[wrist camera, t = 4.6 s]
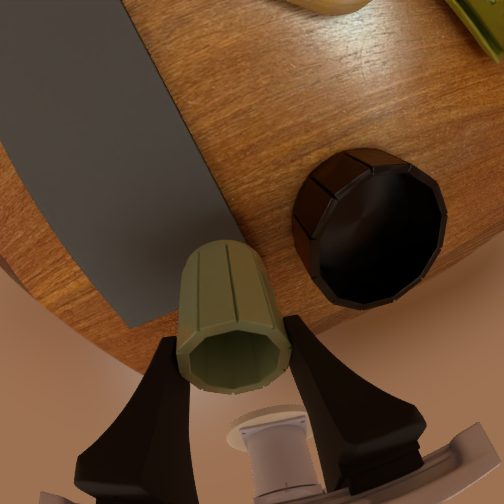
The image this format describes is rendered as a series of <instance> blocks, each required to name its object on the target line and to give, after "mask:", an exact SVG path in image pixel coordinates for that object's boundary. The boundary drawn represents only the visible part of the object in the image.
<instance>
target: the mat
mask: <svg viewBox="0 0 504 504" xmlns="http://www.w3.org/2000/svg"><path fill="white" fill-rule="evenodd" d="M0 141H1V143H2V145H3V147H4V149H5V151H6V152H7V154H8V156H9V158H10V160H11V162H12V164H13V166H14V168H15V169H16V171H17V173H18V175H19V177H20V178H21V180H22V182H23V184H24V185H25V187H26V189H27V190H28V192H29V194H30V195H31V197H32V199H33V200H34V202H35V204H36V205H37V207H38V208H39V210H40V211H41V213H42V215H43V216H44V218H45V219H46V221H47V222H48V224H49V225H50V227H51V228H52V230H53V231H54V233H55V234H56V236H57V237H58V238H59V240H60V241H61V243H62V244H63V245H64V247H65V248H66V250H67V251H68V252H69V254H70V255H71V257H72V258H73V259H74V261H75V262H76V263H77V265H78V266H79V267H80V269H81V270H82V271H83V272H84V274H85V275H86V276H87V278H88V279H89V280H90V281H91V283H92V284H93V285H94V286H95V288H96V289H97V290H98V291H99V292H100V294H101V295H102V296H103V297H104V299H105V300H106V301H107V302H108V303H109V304H110V306H111V307H112V308H113V309H114V310H115V311H116V313H117V314H118V315H119V316H120V317H121V318H122V319H123V321H124V322H125V323H126V324H127V325H128V326H129V327H130V328H131V329H132V328H134V327H137V326H139V325H142V324H144V323H146V322H149V321H151V320H153V319H156V318H158V317H161V316H163V315H165V314H168V313H170V312H172V311H175V310H177V309H179V300H180V288H181V277H182V272H183V269H184V266H185V263H186V261H187V260H188V258H189V256H190V255H191V254H192V253H193V252H194V251H195V250H196V249H198V248H199V247H201V246H203V245H205V244H207V243H209V242H212V241H217V240H234V241H238V242H241V243H244V244H246V245H248V243H247V241H246V239H245V237H244V235H243V233H242V231H241V229H240V227H239V226H238V224H237V222H236V220H235V218H234V216H233V214H232V212H231V210H230V208H229V206H228V204H227V202H226V201H225V199H224V197H223V195H222V193H221V191H220V189H219V187H218V185H217V183H216V181H215V179H214V178H213V176H212V174H211V172H210V170H209V168H208V166H207V164H206V162H205V160H204V158H203V156H202V154H201V153H200V151H199V149H198V147H197V145H196V143H195V141H194V139H193V137H192V135H191V133H190V131H189V129H188V128H187V126H186V124H185V122H184V120H183V118H182V116H181V114H180V112H179V110H178V108H177V106H176V105H175V103H174V101H173V99H172V97H171V95H170V93H169V91H168V89H167V87H166V85H165V83H164V81H163V80H162V78H161V76H160V74H159V72H158V70H157V68H156V66H155V64H154V62H153V60H152V58H151V57H150V55H149V53H148V51H147V49H146V47H145V45H144V43H143V41H142V39H141V37H140V35H139V33H138V32H137V30H136V28H135V26H134V24H133V22H132V20H131V18H130V16H129V14H128V12H127V10H126V9H125V7H124V5H123V3H122V1H121V0H0ZM248 246H249V245H248Z"/></svg>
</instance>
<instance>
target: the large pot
mask: <svg viewBox="0 0 504 504" xmlns="http://www.w3.org/2000/svg"><path fill="white" fill-rule="evenodd" d="M447 213H448V212H447V209H446V206H445V203H444V200H443V197H442V194H441V191H440V188H439V185H438V183H436V181H435V180H434V179H433V178H431V177H430V176H428V175H427V174H426V173H424V172H423V171H421V170H420V169H418V168H417V167H415V166H414V165H412V164H411V163H408V162H406V161H404V160H402V159H400V158H397V157H395V156H393V155H391V154H388V153H386V152H384V151H381V150H377V149H353V150H348V151H345V152H341V153H339V154H337V155H335V156H332V157H331V158H329V159H328V160H326V161H324V162H323V163H322V164H321V165H319V166H318V167H317V168H316V169H315V170H314V171H313V172H312V173H311V174H310V175H309V177H308V178H307V180H306V181H305V182H304V184H303V186H302V187H301V189H300V191H299V193H298V196H297V198H296V201H295V204H294V208H293V214H292V232H293V238H294V242H295V248H296V251H297V252H298V254H299V256H300V258H301V260H302V262H303V264H304V266H305V267H306V269H307V271H308V273H309V275H310V277H311V279H312V281H313V282H314V283H315V284H316V285H317V287H318V288H319V289H320V290H321V292H322V293H323V294H324V295H325V296H326V298H327V299H328V300H329V301H330V302H331V303H333V304H334V305H338V306H343V307H347V308H351V309H356V310H360V311H361V310H362V309H363V310H367V309H371V308H375V307H378V306H382V305H385V304H389V303H392V302H393V301H394V300H397V299H399V298H400V297H401V296H402V295H404V294H405V293H407V292H408V291H409V290H410V289H412V288H413V287H414V286H415V285H417V284H418V283H419V282H420V281H421V278H424V277H425V275H426V274H427V272H428V271H429V269H430V268H431V266H432V264H433V263H434V261H435V259H436V258H437V256H438V255H439V253H440V251H441V249H440V248H442V246H443V241H444V235H445V229H446V223H447V217H448V216H447V215H446V214H447Z"/></svg>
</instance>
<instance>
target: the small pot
mask: <svg viewBox="0 0 504 504" xmlns="http://www.w3.org/2000/svg"><path fill="white" fill-rule="evenodd" d="M292 350H293V348H292V343H291V341H290V338H289V336H288V333H287V330H286V327H285V324H284V320H283V316H282V313H281V310H280V307H279V304H278V301H277V298H276V295H275V292H274V289H273V286H272V283H271V280H270V277H269V274H268V271H267V268H266V267H265V265H264V264H263V261H262V259H261V257H260V256H259V254H258V253H257V252H256V251H255V250H254V249H252V248H251V247H250V246H248V245H246V244H244V243H241V242H238V241H234V240H217V241H212V242H209V243H207V244H205V245H203V246H201V247H199V248H198V249H196V250H195V251H194V252H193V253H192V254H191V255H190V256H189V258H188V260H187V261H186V263H185V266H184V269H183V272H182V277H181V288H180V300H179V313H178V328H177V344H176V356H177V363H178V370H179V373H180V374H181V376H182V377H183V378H184V379H186V380H187V381H189V382H190V383H192V384H193V385H194V386H196V387H197V388H199V389H200V390H201V389H203V390H204V391H208V392H215V393H222V394H232V393H233V392H234V394H239V393H244V392H248V391H252V390H256V389H260V388H262V387H263V386H267V385H269V384H270V383H271V382H273V380H275V379H276V378H278V377H279V376H280V375H282V374H283V373H284V372H285V371H286V369H287V368H288V366H289V362H290V358H291V354H292Z"/></svg>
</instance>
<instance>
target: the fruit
mask: <svg viewBox="0 0 504 504" xmlns="http://www.w3.org/2000/svg"><path fill="white" fill-rule="evenodd" d="M286 1H289V2H291V3H293V4H296V5H298V6H301V7H304V8H306V9H309V10H311V11H314V12H316V13H320V14H327V15H344V14H350V13H353V12H355V11H357V10H359V9H361V8H362V7H364V6H365V5H366V4H368V3H369V2H371V1H372V0H286Z"/></svg>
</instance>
